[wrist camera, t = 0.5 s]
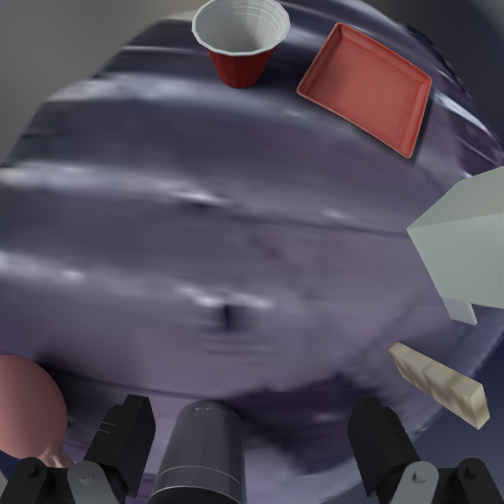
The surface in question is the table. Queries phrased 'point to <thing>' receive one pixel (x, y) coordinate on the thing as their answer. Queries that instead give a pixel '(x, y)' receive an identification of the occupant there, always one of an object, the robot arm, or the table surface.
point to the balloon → (31, 413)
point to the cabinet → (465, 244)
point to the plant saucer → (368, 87)
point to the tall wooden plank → (443, 384)
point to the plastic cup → (240, 36)
